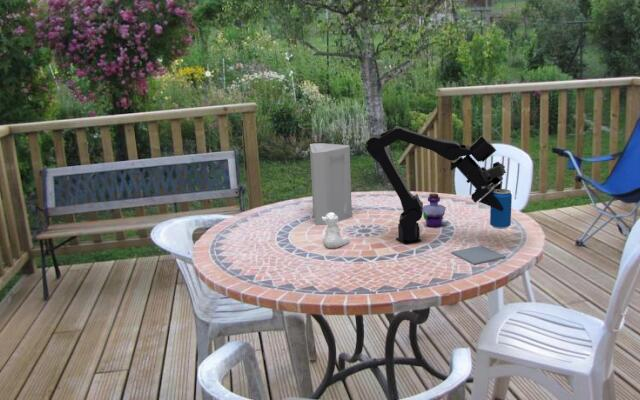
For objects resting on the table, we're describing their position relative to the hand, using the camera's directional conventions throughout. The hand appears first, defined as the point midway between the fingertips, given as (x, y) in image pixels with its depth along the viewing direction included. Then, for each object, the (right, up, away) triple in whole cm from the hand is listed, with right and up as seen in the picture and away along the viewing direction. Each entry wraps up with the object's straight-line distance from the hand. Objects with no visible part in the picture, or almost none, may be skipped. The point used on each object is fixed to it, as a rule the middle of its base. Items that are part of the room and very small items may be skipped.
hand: (505, 207), depth 206 cm
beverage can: (-1, -6, +2) cm, 7 cm away
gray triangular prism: (-55, -4, +45) cm, 71 cm away
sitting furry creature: (-55, -13, +12) cm, 58 cm away
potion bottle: (-18, -7, +29) cm, 35 cm away
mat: (-10, -15, -4) cm, 19 cm away
